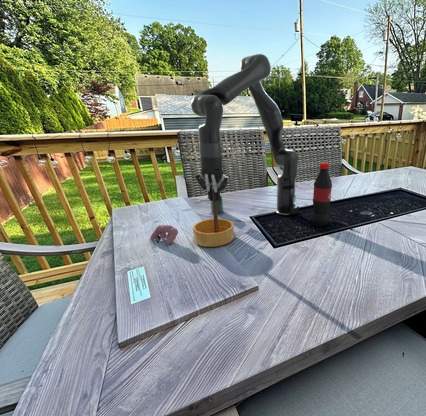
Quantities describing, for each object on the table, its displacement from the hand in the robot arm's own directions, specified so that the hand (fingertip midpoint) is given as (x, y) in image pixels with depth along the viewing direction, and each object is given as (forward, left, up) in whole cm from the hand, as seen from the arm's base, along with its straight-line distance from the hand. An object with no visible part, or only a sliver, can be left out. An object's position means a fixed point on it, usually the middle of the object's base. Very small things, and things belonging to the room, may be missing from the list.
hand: (214, 200), depth 100 cm
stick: (0, 0, -15) cm, 15 cm away
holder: (+15, -28, -17) cm, 36 cm away
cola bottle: (-38, -29, -17) cm, 51 cm away
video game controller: (+20, +5, -17) cm, 27 cm away
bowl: (+2, -1, -17) cm, 17 cm away
